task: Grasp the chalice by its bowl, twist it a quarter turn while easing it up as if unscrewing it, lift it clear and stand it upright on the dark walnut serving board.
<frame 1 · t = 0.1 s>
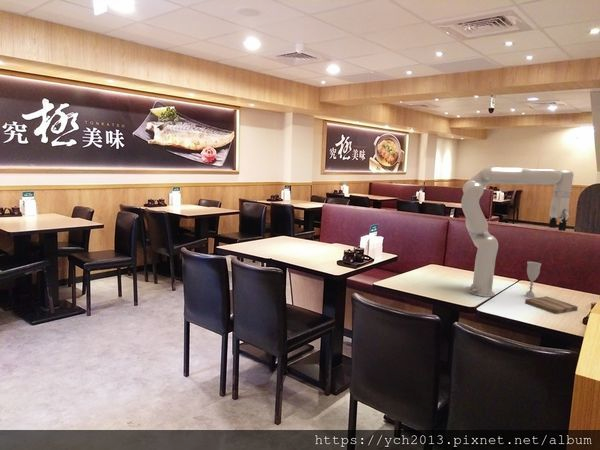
hand: (556, 229, 216), 37 cm above the table, tool pointing down, fingers open, 9 cm apart
chalice: (529, 296, 225), on the table
serving board: (550, 306, 210), on the table
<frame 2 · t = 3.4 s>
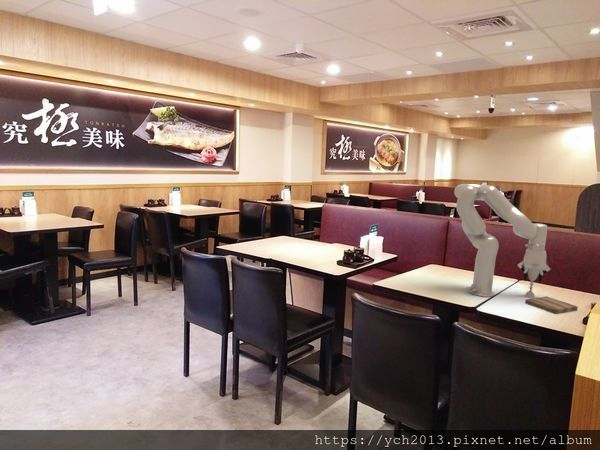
hand: (531, 280, 224), 9 cm above the table, tool pointing down, fingers closed on chalice, 5 cm apart
chalice: (529, 296, 225), on the table, touching gripper
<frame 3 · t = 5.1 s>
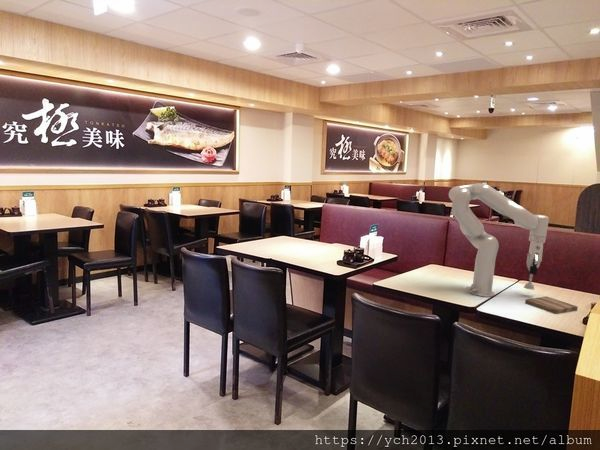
hand: (531, 272, 223), 13 cm above the table, tool pointing down, fingers closed on chalice, 5 cm apart
chalice: (529, 288, 224), point 4 cm above the table, touching gripper
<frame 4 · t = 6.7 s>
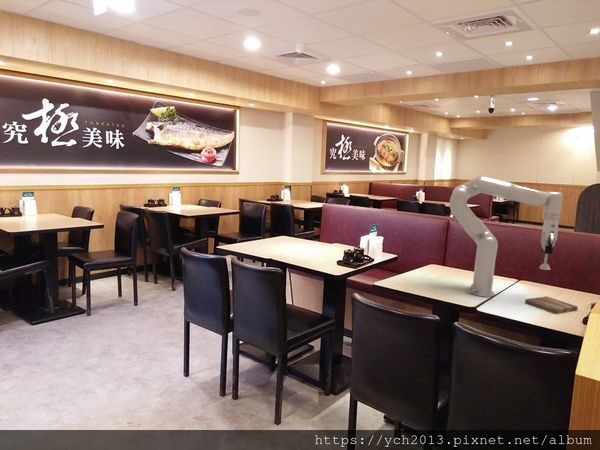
hand: (546, 252, 214), 26 cm above the table, tool pointing down, fingers closed on chalice, 5 cm apart
chalice: (544, 269, 215), point 17 cm above the table, touching gripper
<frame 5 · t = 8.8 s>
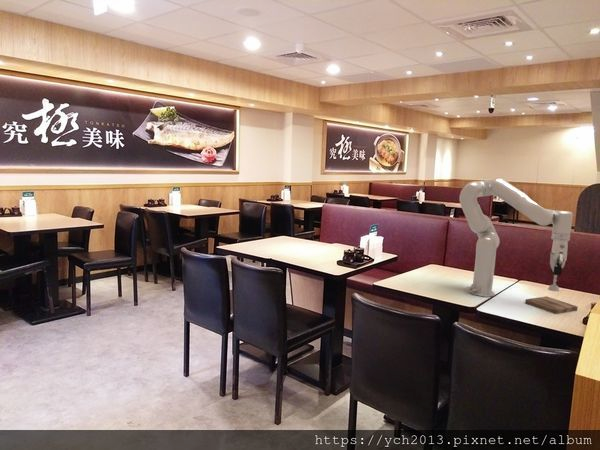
hand: (555, 272, 207), 17 cm above the table, tool pointing down, fingers closed on chalice, 5 cm apart
chalice: (553, 290, 208), point 8 cm above the table, touching gripper
when the fingers open (12 cm above the table, at t = 10.3 s): chalice drops 1 cm, resting on serving board.
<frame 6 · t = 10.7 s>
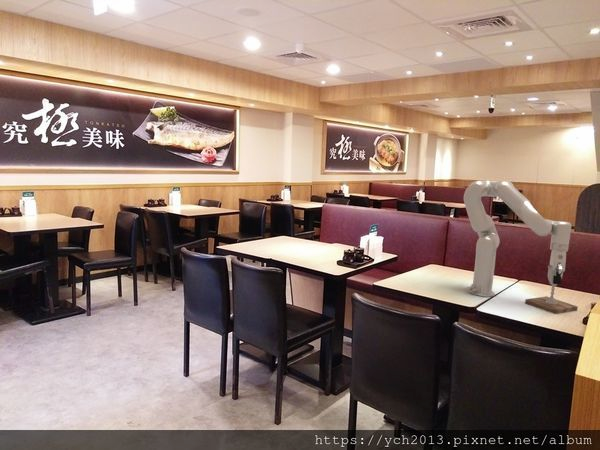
hand: (554, 281, 208), 13 cm above the table, tool pointing down, fingers open, 9 cm apart
chalice: (551, 303, 209), point 2 cm above the table, touching serving board
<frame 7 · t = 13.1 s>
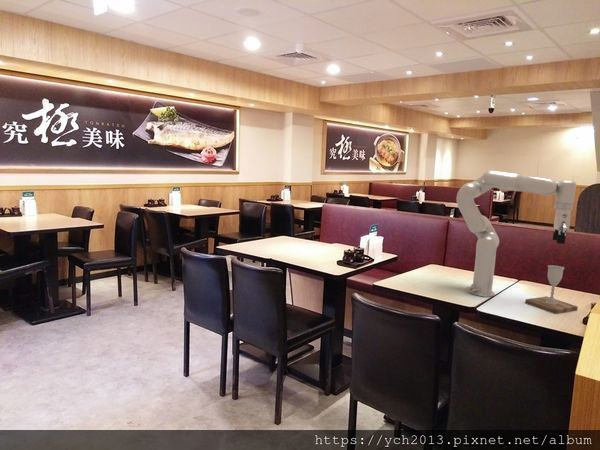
hand: (558, 241, 206), 32 cm above the table, tool pointing down, fingers open, 9 cm apart
nothing on the table moved.
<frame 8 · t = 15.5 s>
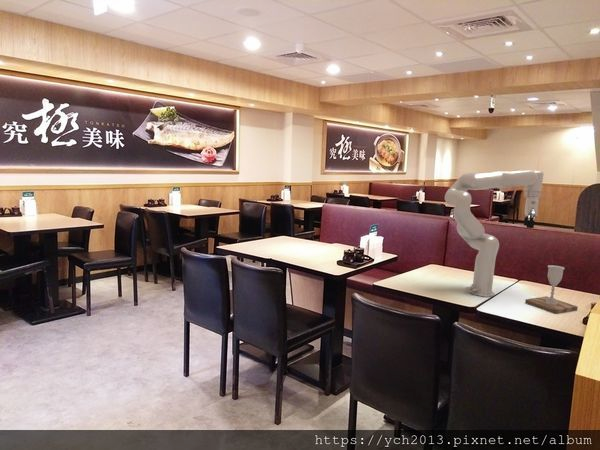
hand: (528, 226, 225), 36 cm above the table, tool pointing down, fingers open, 9 cm apart
nothing on the table moved.
at the end: chalice inside the target area on the serving board (0.1 cm from its centre), point 1.8 cm above the serving board's base; chalice tilted 1°; the gripper is holding nothing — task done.
